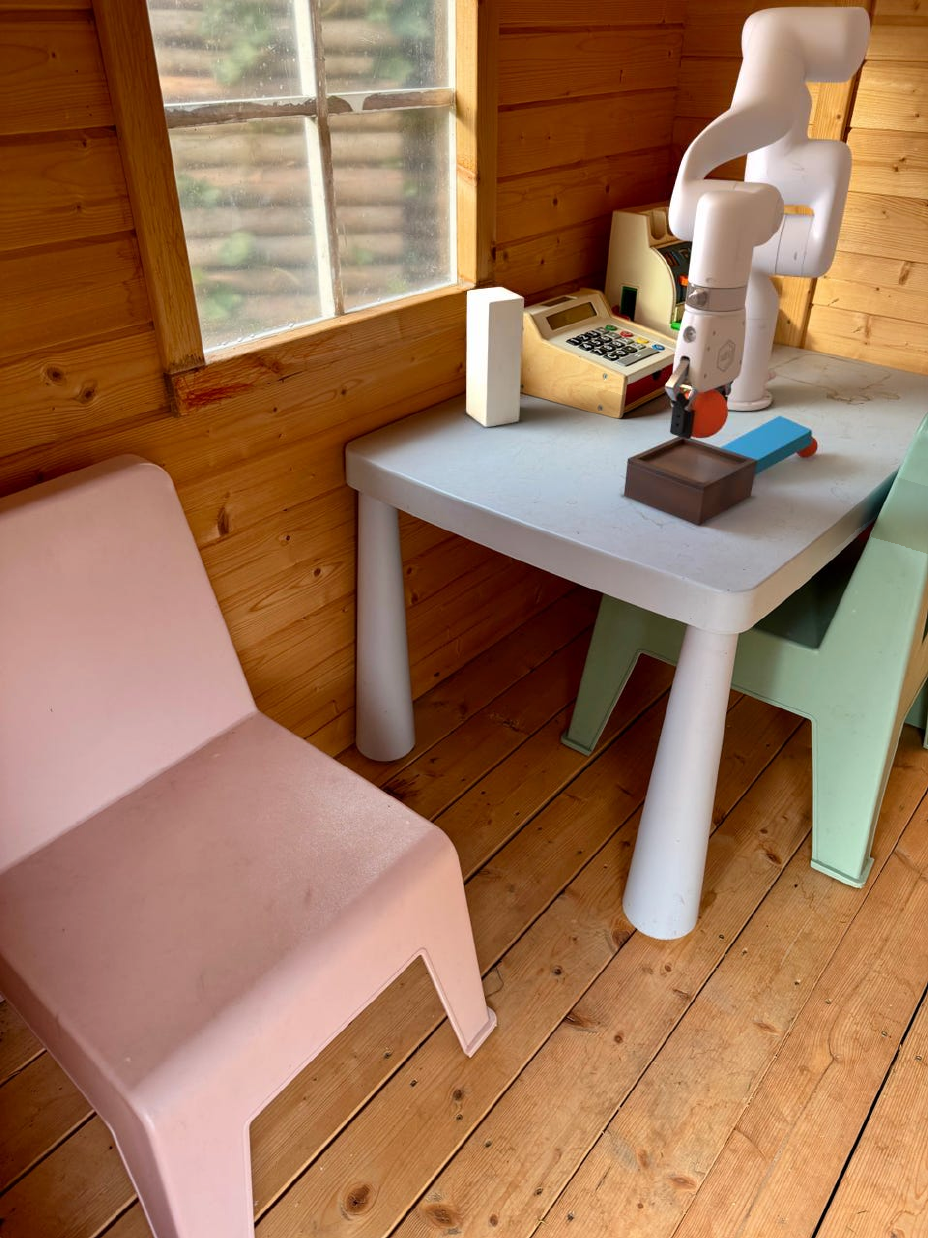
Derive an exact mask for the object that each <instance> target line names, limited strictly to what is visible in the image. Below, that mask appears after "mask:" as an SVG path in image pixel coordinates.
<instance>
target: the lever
mask: <svg viewBox="0 0 928 1238" xmlns="http://www.w3.org/2000/svg"><path fill="white" fill-rule="evenodd" d="M720 448H722V449H725V450H728V451H731V452H734V453H738V454H741V455H744V456H747V457H750V458H753V459H756V460H758V461H757V466H756V472H755V476H757V475H759V474H760V473H762V472H764V471H766V470H767V469H769V468H771V467H774V466H775V465H777V464H778V463H781V462H782V461H784V460H786V459H787V458H789V457H791V456H793V455H795V454H796V455H798V456H799V457H801V458H804V459H807V458H811V457H812V456H814V455H815V454H816V453H817V451H818V448H819V444H818V441H817V440H816V438H815V437H813V429H810V428H809V427H807V426H805V425H802V424H799V423H797V422H795V421H792V420H790V419H788V418H786V417H784V416H782V415H778V416H776V417H775V418H772V419H770V420H769V421H766V422H765V423H763V424H761V425H760V426H758V427H756V428H754V429H752V430H750V431H748V432H747V433H744V434H743V435H740V436H739V437H737V438H735V439H734V440H731V441H730V442H728V443H726V444H725V445H723V446H721V447H720Z"/></svg>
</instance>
